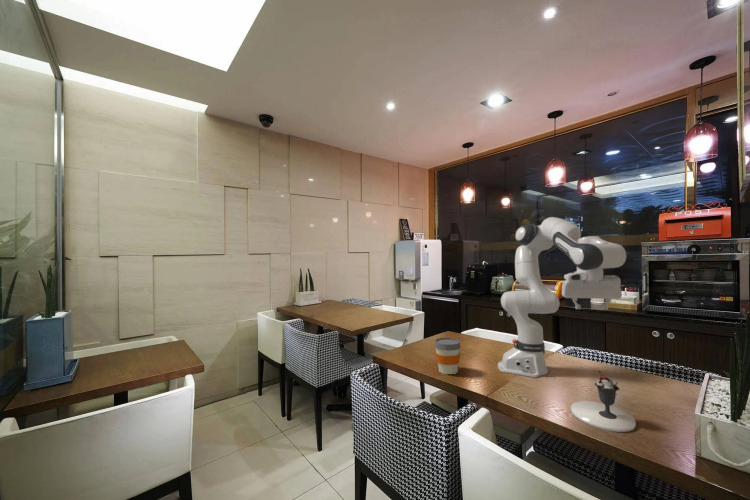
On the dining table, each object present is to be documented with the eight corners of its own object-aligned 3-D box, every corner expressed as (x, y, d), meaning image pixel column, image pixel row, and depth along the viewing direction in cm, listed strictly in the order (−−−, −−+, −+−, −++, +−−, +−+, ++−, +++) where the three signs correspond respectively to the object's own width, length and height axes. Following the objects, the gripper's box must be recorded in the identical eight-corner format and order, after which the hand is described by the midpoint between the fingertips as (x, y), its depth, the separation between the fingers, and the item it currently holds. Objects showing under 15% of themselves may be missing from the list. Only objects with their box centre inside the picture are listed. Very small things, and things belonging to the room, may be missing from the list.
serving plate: (579, 427, 99) (579, 423, 99) (565, 401, 116) (564, 398, 116) (647, 436, 94) (647, 432, 94) (621, 408, 111) (621, 404, 111)
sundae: (590, 410, 107) (589, 368, 107) (608, 409, 107) (606, 367, 108) (606, 421, 100) (604, 375, 101) (625, 419, 101) (623, 374, 101)
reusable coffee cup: (451, 378, 140) (450, 346, 141) (430, 371, 150) (429, 341, 150) (466, 371, 149) (465, 340, 149) (445, 364, 158) (444, 336, 158)
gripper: (616, 274, 123) (618, 308, 123) (559, 275, 130) (561, 307, 129) (624, 275, 117) (625, 311, 117) (563, 276, 124) (565, 309, 123)
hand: (591, 309), depth 123 cm, fingers open, 8 cm apart
